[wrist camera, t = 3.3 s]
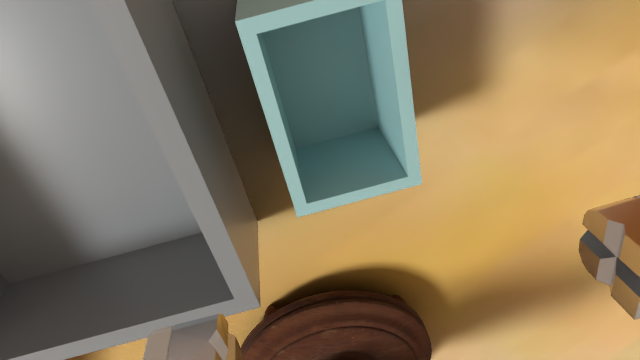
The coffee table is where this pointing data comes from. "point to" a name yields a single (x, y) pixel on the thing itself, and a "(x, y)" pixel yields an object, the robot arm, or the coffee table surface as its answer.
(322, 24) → the small crate
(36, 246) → the big crate
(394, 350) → the brown tall piece
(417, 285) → the coffee table surface
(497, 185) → the coffee table surface
